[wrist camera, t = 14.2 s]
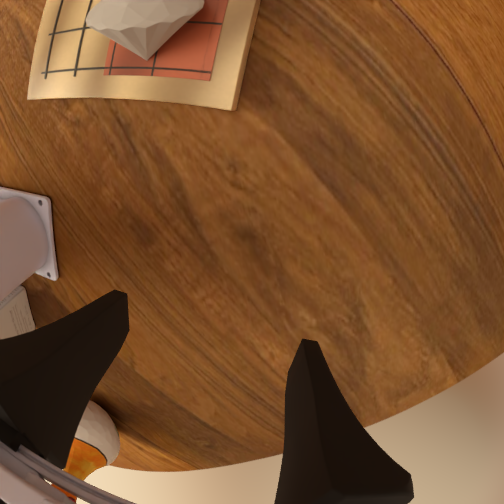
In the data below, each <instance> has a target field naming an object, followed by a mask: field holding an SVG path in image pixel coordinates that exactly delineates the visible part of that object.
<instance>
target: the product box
mask: <svg viewBox="0 0 504 504" xmlns="http://www.w3.org/2000/svg"><path fill="white" fill-rule="evenodd" d="M33 330H35V324H34V321H33V318H32V314H31V311H30V307H29V303H28V298H27V293H26V290H25V288H24V287H23V286H21V285H19V286H18V287H17V288H16V289H14V290H13V291H12V292H11V293H10V294H9V295H8V296H7V297H5V298H4V299H3V300H2V301H1V302H0V339H5V338H10V337H14V336H17V335H20V334H24V333H27V332H30V331H33Z"/></svg>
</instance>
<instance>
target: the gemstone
mask: <svg viewBox="0 0 504 504" xmlns="http://www.w3.org/2000/svg"><path fill="white" fill-rule="evenodd" d="M203 6H204V0H101V1H100V2H99V3H98V4H96V5H95V6H94V7H93V8H92V9H91V10H90V11H89V12H88V15H87V17H86V20H85V21H86V24H87V26H88V27H90V28H92V29H94V30H95V31H97V32H99V33H101V34H103V35H104V36H106V37H108V38H110V39H112V40H113V41H115V42H117V43H118V44H120V45H122V46H124V47H125V48H127V49H129V50H130V51H132V52H134V53H135V54H137V55H138V56H140V57H142V58H143V59H145V60H148V59H149V58H150V57H151V56H152V55H153V54H154V53H155V52H156V51H157V50H158V49H159V48H160V47H161V46H162V45H163V44H164V43H165V42H166V41H167V40H168V39H169V38H170V37H171V36H172V35H173V34H174V33H175V32H176V31H177V30H178V29H179V28H181V27H182V26H183V25H184V24H185V23H186V22H187V21H188V20H189V19H191V18H192V17H193V16H194V15H195V14H196V13H197V12H199V11H200V10H201V9H202V8H203Z"/></svg>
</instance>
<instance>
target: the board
mask: <svg viewBox="0 0 504 504" xmlns="http://www.w3.org/2000/svg"><path fill="white" fill-rule="evenodd" d="M100 1H101V0H47V1H46V4H45V8H44V11H43V15H42V19H41V23H40V27H39V31H38V35H37V40H36V45H35V50H34V55H33V60H32V66H31V73H30V80H29V88H28V96H27V100H35V99H54V98H112V99H133V100H147V101H159V102H170V103H179V104H187V105H195V106H203V107H210V108H216V109H223V110H229V111H236V109H237V104H238V100H239V95H240V90H241V85H242V80H243V76H244V71H245V67H246V62H247V57H248V53H249V49H250V44H251V40H252V36H253V31H254V27H255V23H256V19H257V15H258V10H259V6H260V2H261V0H204V6H203V8H202V9H201V10H200V11H199V12H197V13H196V14H195V15H194V16H193V17H192V18H191V19H189V20H188V21H187V22H186V23H185V24H184V25H183V26H182V27H181V28H179V29H178V30H177V31H176V32H175V33H174V34H173V35H172V36H171V37H170V38H169V39H168V40H167V41H166V42H165V43H164V44H163V45H162V46H161V47H160V48H159V49H158V50H157V51H156V52H155V53H154V54H153V55H152V56H151V57H150V58H149V59H148V60H145V59H143V58H142V57H140V56H138V55H137V54H135V53H134V52H132V51H130V50H129V49H127V48H125V47H124V46H122V45H120V44H118V43H117V42H115V41H113V40H112V39H110V38H108V37H106V36H104V35H103V34H101V33H99V32H97V31H95V30H94V29H92V28H90V27H88V26H87V24H86V21H85V20H86V17H87V15H88V12H89V11H90V10H91V9H92V8H93V7H94V6H95V5H96V4H98V3H99V2H100Z"/></svg>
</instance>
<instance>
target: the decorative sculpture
mask: <svg viewBox="0 0 504 504" xmlns="http://www.w3.org/2000/svg"><path fill="white" fill-rule="evenodd" d="M119 450H120V440H119V434H118V432H117V429H116V426H115V424H114V423H113V421H112V419H111V418H110V416H109V415H108V414H107V412H106V411H105V410H103V409H102V408H101V407H100V406H99V405H97V404H96V403H95V402H93V401H90V400H89V402H88V404H87V407H86V409H85V411H84V413H83V416H82V418H81V421H80V423H79V426H78V428H77V431H76V434H75V437H74V440H73V443H72V446H71V450H70V453H69V457H68V460H67V464H66V468H64V469H63V471H65V472H67V473H69V474H71V475H72V476H74V477H76V478H78V479H80V480H82V481H84V479H85V478H86V477H87V476H88V475H89V474H91V473H92V472H94V471H95V470H96V469H99V468H101V467H104V466H108V465H109V464H111V463H112V462H113V461H114V460H115V459H116V458H117V456H118V454H119ZM52 486H53V487H55V488H56V489H58V490H60V491H61V492H63V493H64V494H65V495H66V496H67V497H68V498H69V499H71V500H72V501H73V502H75V503H76V500H77V497H76V496H74V495H72V494H70V493H68V492H67V491H65V490H63V489H61V488H59V487H58V486H56V485H54V484H52ZM0 504H7V503H5V502H4V501H3V500H2V499H0Z"/></svg>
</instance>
